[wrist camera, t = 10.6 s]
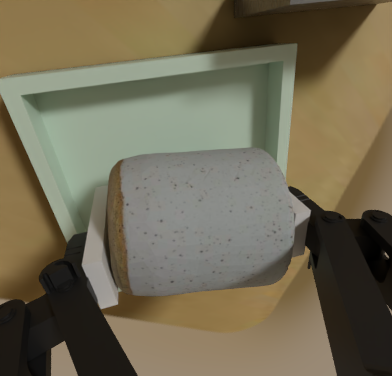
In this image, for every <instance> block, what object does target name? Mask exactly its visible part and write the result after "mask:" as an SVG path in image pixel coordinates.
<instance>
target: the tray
mask: <svg viewBox="0 0 392 376" xmlns="http://www.w3.org/2000/svg"><path fill="white" fill-rule="evenodd" d="M297 44H298V43H276V44H267V45H259V46H250V47H242V48H233V49H225V50H217V51H208V52H200V53H191V54H183V55H174V56H166V57H158V58H149V59H141V60H132V61H124V62H115V63H107V64H99V65H90V66H82V67H73V68H65V69H56V70H48V71H40V72H31V73H23V74H14V75H10V76H6V77H2V78H0V94H1V96H2V98H3V100H4V103H5V105H6V107H7V109H8V112H9V114H10V116H11V118H12V121H13V123H14V125H15V127H16V130H17V132H18V134H19V136H20V139H21V141H22V143H23V145H24V147H25V150H26V152H27V154H28V156H29V159H30V161H31V163H32V165H33V168H34V170H35V172H36V174H37V177H38V179H39V181H40V183H41V186H42V188H43V190H44V192H45V195H46V197H47V199H48V201H49V203H50V206H51V208H52V210H53V212H54V215H55V217H56V219H57V221H58V224H59V226H60V228H61V230H62V233H63V235H64V237H65V239H66V242H67V244H68V241H69V240H70V239H71V238H72V236H73V235H74V234H79V233H83V232H88V227H89V222H90V216H91V210H92V205H93V199H94V193H95V188H96V187H100V186H105V185H108V180H109V175H110V172H111V169H112V168H113V166H114V165H115V164H116V163H117V162H118V161H119V160H121V159H125V158H129V157H133V156H137V155H142V154H152V153H175V152H189V151H202V150H217V149H236V148H250V147H253V148H260V149H262V150H264V151H266V152H267V153H269V154H270V155H271V156H272V157H273V159H274V160H275V162H276V163H277V164H278V166H279V167H280V169H281V171H282V173H283V175H284V177H285V180H286V169H287V158H288V146H289V135H290V124H291V112H292V101H293V90H294V78H295V67H296V56H297ZM120 291H122V290H121V289H120V288H119V287H118V292H120Z"/></svg>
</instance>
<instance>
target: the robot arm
mask: <svg viewBox="0 0 392 376" xmlns="http://www.w3.org/2000/svg"><path fill="white" fill-rule="evenodd" d="M288 189H289V193H290V196H291V199H292V204H293V210H294V228H295V234H294V247H293V254H292V257H296V256H299V255H303V254H304V251H305V245H306V246H307V248H308V249H309V250H310V256H309V262H308V269H310V266H312V270H313V275H314V279H315V283H316V287H317V292H318V296H319V300H320V304H321V309H322V313H323V317H324V321H325V326H326V330H327V334H328V339H329V343H330V347H331V352H332V356H333V360H334V364H335V368H336V373H337V376H392V315H391V313H390V311H389V308H390V309H391V310H392V216H391V215H390V214H388V213H385V212H383V211H379V210H367V211H365V212H364V213H363V214H362V218H361V219H345V217H344V216H343V215H341V214H339V213H337V212H333V211H324V210H323V209H322V208H321V207H319V206H318V205H317V204H316V203H314V202H313V201H312V200H311V199H309V198H308V197H307V196H306V195H305V194H304V193H302V192H301V191H300V190H298V189H296V188H294V187H291V186H290V187H288ZM107 198H108V185H105V186H100V187H96V188H95V193H94V199H93V205H92V210H91V216H90V222H89V227H88V232H83V233H79V234H74V235H73V236H72V238H71V239H70V240H69V241H68V244H67V248H66V251H65V255H64V256H65V257H64V259H59V260H57V261H54V262H52V263H51V264H49V265H48V266H46V267H45V268H44V269H43V270H42V272H41V274H40V275H39V281H40V283H41V284H42V286H43V288H44V290H45V291H46V294H45V295H43V296H41V297H40V298H38V299H36V300H34V301H31V302H29V303H27V304H25V303H24V302H23V301H22V300H16V299H15V300H11V301H7V302H5V303H4V304H1V305H0V376H51V348H53V347H55V346H56V345H58V344H60V343H61V342H63V341H65V342H66V345H67V347H68V350H69V353H70V356H71V358H72V360H73V363H74V366H75V369H76V371H77V374H78V376H137V373H136V372H135V370H134V368H133V367H132V365H131V363H130V361H129V360H128V358H127V356H126V354H125V352H124V351H123V349H122V347H121V345H120V344H119V342H118V340H117V338H116V337H115V335H114V333H113V331H112V330H111V328H110V326H109V324H108V323H107V321H106V319H105V317H104V315H103V314H102V312H101V310H100V308H101V309H103V308H107V307H110V306H114V305H118V286H117V285H116V282H115V279H114V276H113V271H112V267H111V257H110V249H109V238H108V212H107ZM385 252H386V253H387V255H388V256H389V258H387V257H386V255H385ZM97 303H98V304H99V306H100V308H99V307H98V305H97ZM387 305H388V306H389V308H388V306H387Z"/></svg>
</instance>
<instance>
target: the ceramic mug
mask: <svg viewBox="0 0 392 376" xmlns="http://www.w3.org/2000/svg"><path fill="white" fill-rule="evenodd" d="M107 212H108V238H109V249H110V257H111V267H112V271H113V276H114V279H115V282H116V285H117V286H118V287H119V288H120V289H121V290H122V291H123V292H124V293H126V294H130V295H136V296H167V295H176V294H184V293H191V292H199V291H210V290H222V289H234V288H245V287H256V286H265V285H271V284H274V283H276V282H277V281H279V280H280V279H281V278H282V277H283V276H284V275H285V273H286V271H287V270H288V266H289V264H290V262H291V258H292V254H293V247H294V234H295V228H294V210H293V204H292V199H291V196H290V193H289V189H288V186H287V183H286V180H285V177H284V175H283V173H282V171H281V169H280V167H279V166H278V164H277V163H276V162H275V160H274V159H273V157H272V156H271V155H270V154H269V153H267V152H266V151H264V150H262V149H260V148H253V147H250V148H236V149H217V150H202V151H189V152H175V153H152V154H142V155H137V156H133V157H129V158H125V159H121V160H119V161H118V162H117V163H116V164H115V165H114V166H113V168H112V169H111V172H110V175H109V180H108V198H107Z"/></svg>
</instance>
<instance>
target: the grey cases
mask: <svg viewBox="0 0 392 376" xmlns="http://www.w3.org/2000/svg"><path fill="white" fill-rule="evenodd" d="M386 2H392V0H234V18H238V17H248V16H258V15H268V14H279V13H289V12H299V11H309V10H319V9H330V8H340V7H350V6H360V5H370V4H380V3H386Z"/></svg>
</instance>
